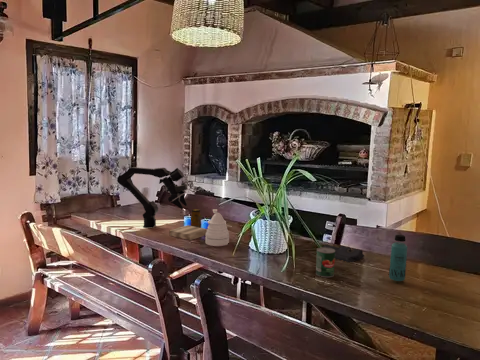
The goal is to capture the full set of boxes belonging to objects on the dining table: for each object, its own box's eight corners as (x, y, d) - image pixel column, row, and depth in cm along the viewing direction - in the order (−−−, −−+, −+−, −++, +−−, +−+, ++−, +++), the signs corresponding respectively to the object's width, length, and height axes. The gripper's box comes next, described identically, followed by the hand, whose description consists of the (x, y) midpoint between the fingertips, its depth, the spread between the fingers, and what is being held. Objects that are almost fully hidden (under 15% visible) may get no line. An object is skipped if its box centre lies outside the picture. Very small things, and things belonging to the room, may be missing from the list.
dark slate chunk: (328, 248, 223) (329, 239, 222) (367, 257, 208) (367, 248, 208) (313, 254, 212) (313, 245, 211) (352, 264, 197) (353, 254, 196)
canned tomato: (321, 269, 187) (322, 246, 186) (337, 274, 182) (338, 249, 181) (312, 274, 181) (313, 250, 180) (328, 279, 176) (329, 253, 175)
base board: (169, 235, 241) (169, 230, 240) (187, 230, 254) (187, 225, 253) (190, 240, 232) (190, 234, 231) (208, 234, 245) (208, 229, 245)
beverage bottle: (385, 279, 177) (388, 233, 175) (400, 278, 178) (404, 233, 175) (392, 284, 171) (395, 237, 168) (408, 284, 172) (411, 237, 169)
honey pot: (200, 242, 228) (200, 210, 225) (217, 238, 237) (217, 207, 235) (216, 247, 219) (217, 213, 217) (233, 242, 228) (234, 210, 226)
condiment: (197, 227, 262) (197, 208, 261) (205, 229, 256) (205, 210, 254) (187, 228, 258) (187, 209, 256) (195, 231, 251) (195, 212, 250)
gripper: (176, 180, 245) (191, 202, 246) (185, 177, 264) (198, 197, 264) (161, 190, 247) (176, 212, 248) (171, 186, 266) (184, 206, 266)
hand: (184, 207), depth 256 cm, fingers open, 9 cm apart
